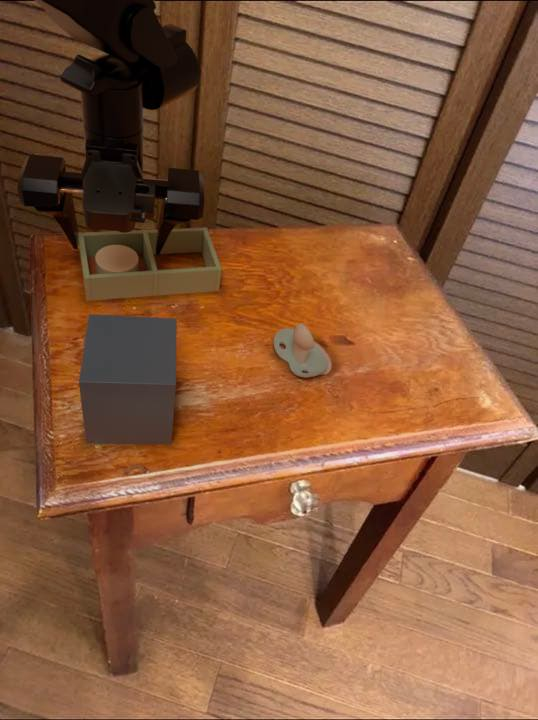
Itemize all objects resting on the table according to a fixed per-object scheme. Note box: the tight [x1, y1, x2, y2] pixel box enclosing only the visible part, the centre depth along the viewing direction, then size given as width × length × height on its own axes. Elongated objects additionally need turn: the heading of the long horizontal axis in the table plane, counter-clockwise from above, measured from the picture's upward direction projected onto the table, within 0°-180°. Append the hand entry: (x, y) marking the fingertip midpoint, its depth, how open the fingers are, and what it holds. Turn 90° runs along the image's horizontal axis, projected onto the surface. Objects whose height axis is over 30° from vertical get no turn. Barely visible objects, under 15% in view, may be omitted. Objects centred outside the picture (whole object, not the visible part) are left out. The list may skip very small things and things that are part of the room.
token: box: [95, 245, 139, 274], centre depth 71 cm, size 5×5×2 cm
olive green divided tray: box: [78, 227, 223, 302], centre depth 72 cm, size 16×8×4 cm, turn 107°
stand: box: [78, 313, 178, 446], centre depth 56 cm, size 8×8×10 cm
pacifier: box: [273, 322, 333, 378], centre depth 66 cm, size 7×6×6 cm
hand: (117, 250), depth 69 cm, fingers open, 9 cm apart
